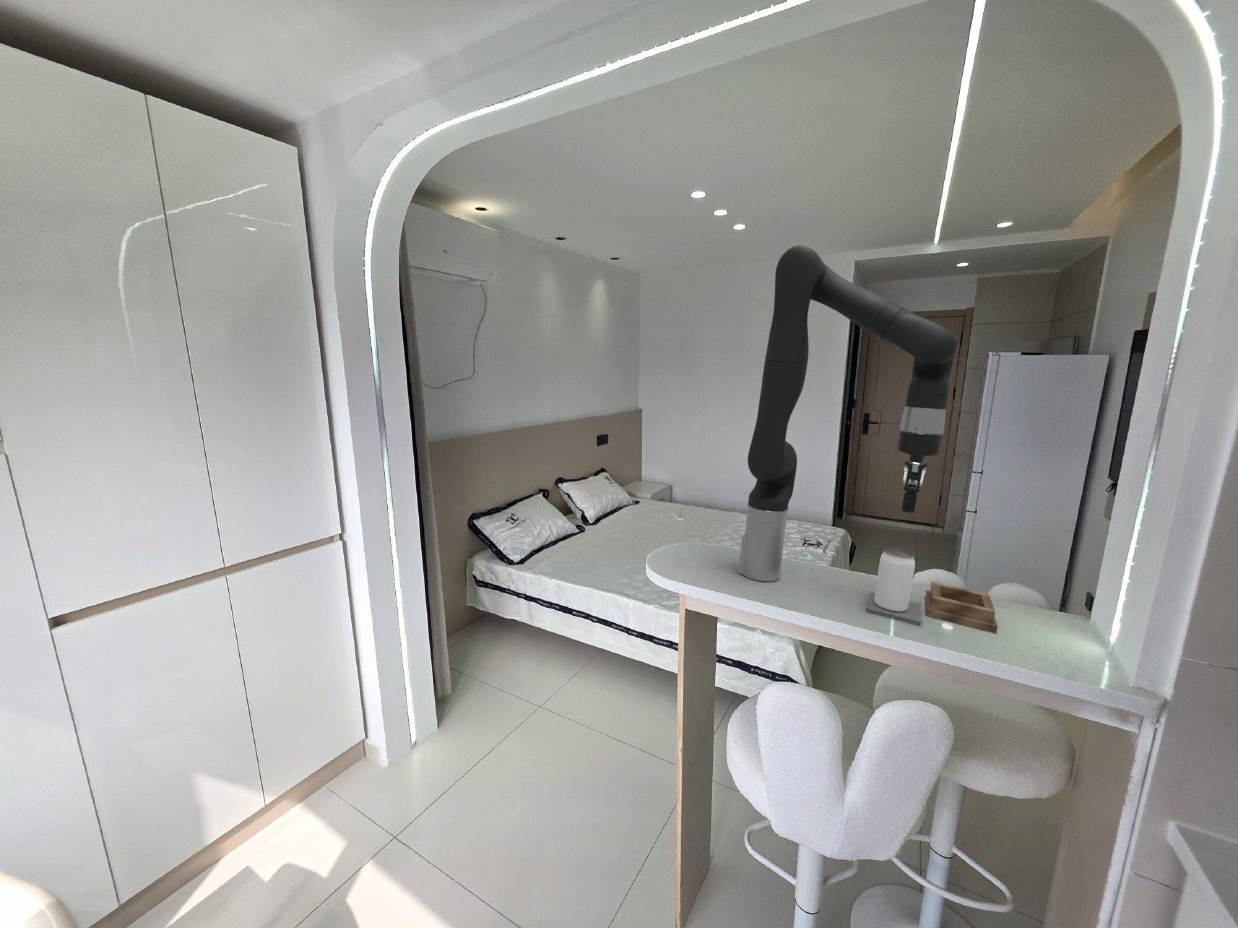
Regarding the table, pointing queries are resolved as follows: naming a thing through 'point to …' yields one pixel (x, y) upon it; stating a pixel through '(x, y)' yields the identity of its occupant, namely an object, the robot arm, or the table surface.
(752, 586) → the table surface
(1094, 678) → the table surface
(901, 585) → the can
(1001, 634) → the table surface
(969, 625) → the socket block
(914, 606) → the mat
